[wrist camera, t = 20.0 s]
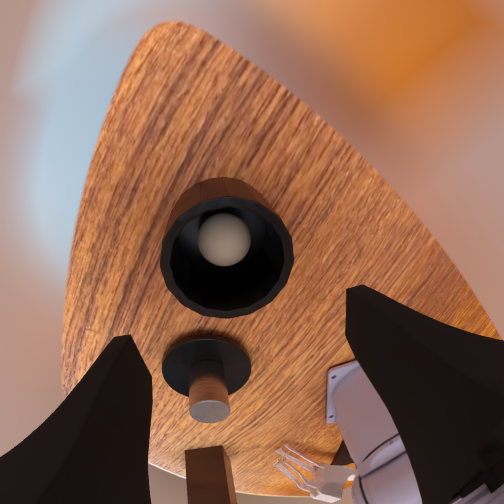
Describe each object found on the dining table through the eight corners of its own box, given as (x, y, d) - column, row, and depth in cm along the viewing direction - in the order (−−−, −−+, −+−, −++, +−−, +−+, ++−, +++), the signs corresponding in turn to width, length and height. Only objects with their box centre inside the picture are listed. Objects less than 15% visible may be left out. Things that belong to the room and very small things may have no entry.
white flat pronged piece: (281, 415, 37) (362, 469, 37) (269, 475, 26) (366, 523, 26) (291, 409, 37) (371, 463, 36) (281, 469, 26) (377, 518, 25)
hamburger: (349, 426, 32) (364, 460, 27) (424, 402, 34) (442, 429, 29) (329, 466, 37) (340, 494, 32) (396, 445, 38) (409, 469, 33)
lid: (255, 381, 25) (266, 428, 21) (177, 395, 25) (177, 442, 20) (241, 321, 22) (252, 370, 18) (150, 338, 22) (143, 388, 17)
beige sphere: (249, 247, 19) (259, 268, 17) (202, 257, 19) (205, 280, 16) (241, 201, 18) (251, 216, 15) (192, 212, 18) (192, 229, 15)
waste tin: (277, 263, 21) (298, 303, 16) (183, 283, 20) (180, 328, 16) (264, 168, 18) (286, 185, 13) (158, 190, 17) (144, 214, 13)
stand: (230, 460, 31) (241, 527, 22) (195, 465, 31) (202, 531, 22) (222, 445, 29) (233, 519, 20) (184, 450, 29) (189, 523, 20)
